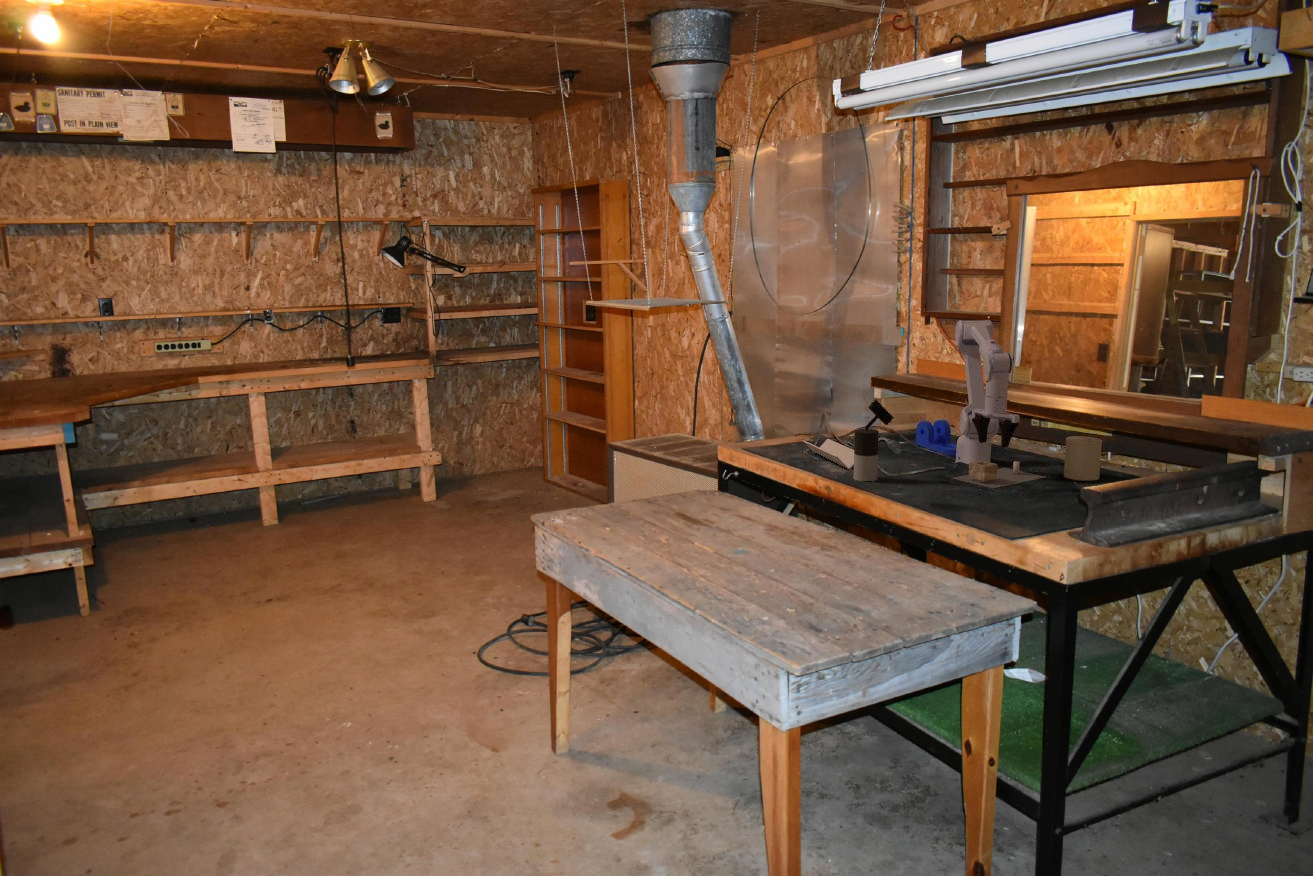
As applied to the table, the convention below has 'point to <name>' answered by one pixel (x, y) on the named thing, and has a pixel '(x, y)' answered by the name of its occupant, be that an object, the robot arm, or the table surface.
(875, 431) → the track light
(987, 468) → the ash collar
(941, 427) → the bracket
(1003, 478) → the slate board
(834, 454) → the beige v-shaped trough
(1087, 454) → the can
